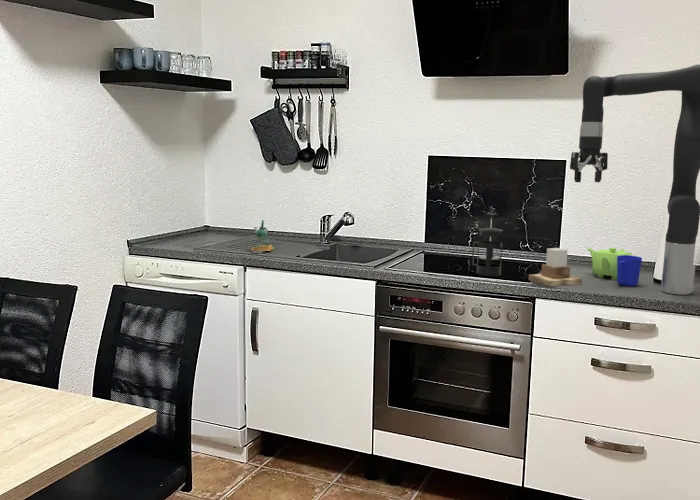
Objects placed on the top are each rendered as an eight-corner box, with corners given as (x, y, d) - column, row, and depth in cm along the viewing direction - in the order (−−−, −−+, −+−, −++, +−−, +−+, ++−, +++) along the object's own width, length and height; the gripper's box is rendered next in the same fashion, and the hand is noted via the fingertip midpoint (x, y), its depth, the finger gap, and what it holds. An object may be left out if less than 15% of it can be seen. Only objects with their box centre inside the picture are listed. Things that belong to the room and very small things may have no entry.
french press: (503, 272, 267) (507, 212, 264) (502, 276, 258) (505, 215, 255) (473, 270, 270) (475, 211, 267) (470, 274, 262) (473, 213, 258)
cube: (557, 264, 253) (558, 247, 252) (566, 266, 248) (567, 250, 247) (546, 264, 251) (547, 248, 250) (554, 267, 246) (555, 250, 245)
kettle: (584, 273, 269) (586, 244, 267) (620, 273, 269) (622, 245, 268) (599, 281, 254) (602, 250, 252) (637, 281, 255) (640, 251, 253)
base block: (556, 274, 255) (557, 263, 254) (569, 278, 248) (570, 266, 248) (541, 275, 252) (541, 264, 252) (553, 279, 246) (554, 267, 245)
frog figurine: (282, 249, 312) (281, 217, 308) (262, 259, 296) (260, 226, 292) (264, 247, 316) (262, 215, 312) (243, 257, 300) (241, 224, 296)
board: (560, 277, 259) (560, 272, 258) (581, 284, 248) (582, 278, 247) (528, 279, 254) (528, 274, 253) (549, 286, 243) (549, 281, 242)
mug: (606, 285, 246) (608, 257, 244) (621, 281, 254) (623, 254, 253) (628, 289, 240) (631, 261, 239) (643, 285, 249) (646, 257, 247)
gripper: (581, 135, 235) (578, 183, 238) (615, 135, 241) (611, 182, 243) (567, 135, 242) (564, 181, 245) (600, 135, 247) (596, 181, 250)
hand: (587, 182), depth 244 cm, fingers open, 8 cm apart
